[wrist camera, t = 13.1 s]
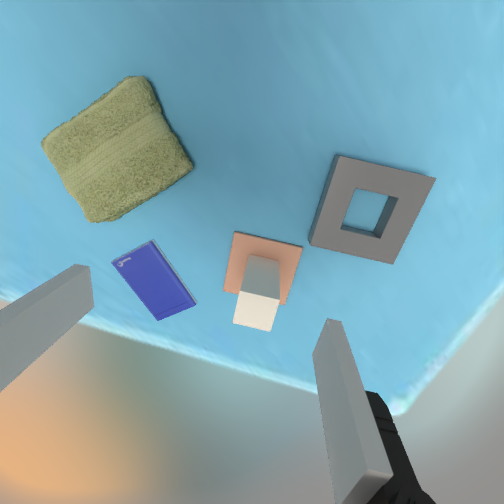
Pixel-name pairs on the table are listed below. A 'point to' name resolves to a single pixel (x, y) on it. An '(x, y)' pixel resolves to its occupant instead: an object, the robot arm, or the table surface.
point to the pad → (262, 248)
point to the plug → (258, 294)
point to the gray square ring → (391, 220)
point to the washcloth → (117, 152)
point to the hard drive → (154, 280)
